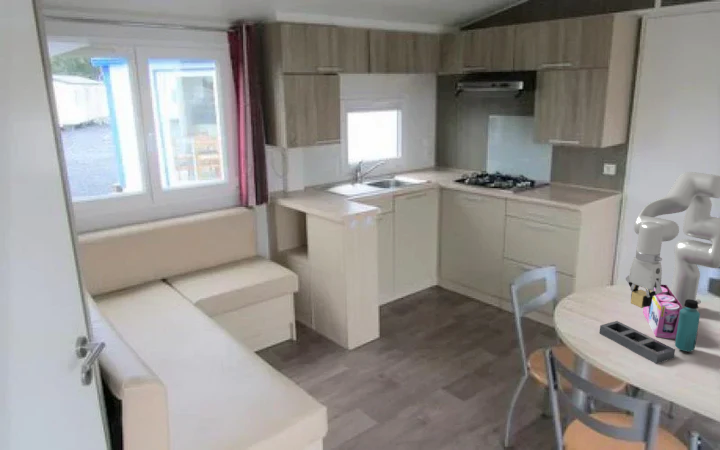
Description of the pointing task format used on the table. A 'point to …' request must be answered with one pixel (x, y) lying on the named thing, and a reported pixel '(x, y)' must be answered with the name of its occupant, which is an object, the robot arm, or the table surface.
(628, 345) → the frame with square openings
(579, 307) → the table surface
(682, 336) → the beverage bottle
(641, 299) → the tan wooden cube
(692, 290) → the robot arm
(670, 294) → the gum box
